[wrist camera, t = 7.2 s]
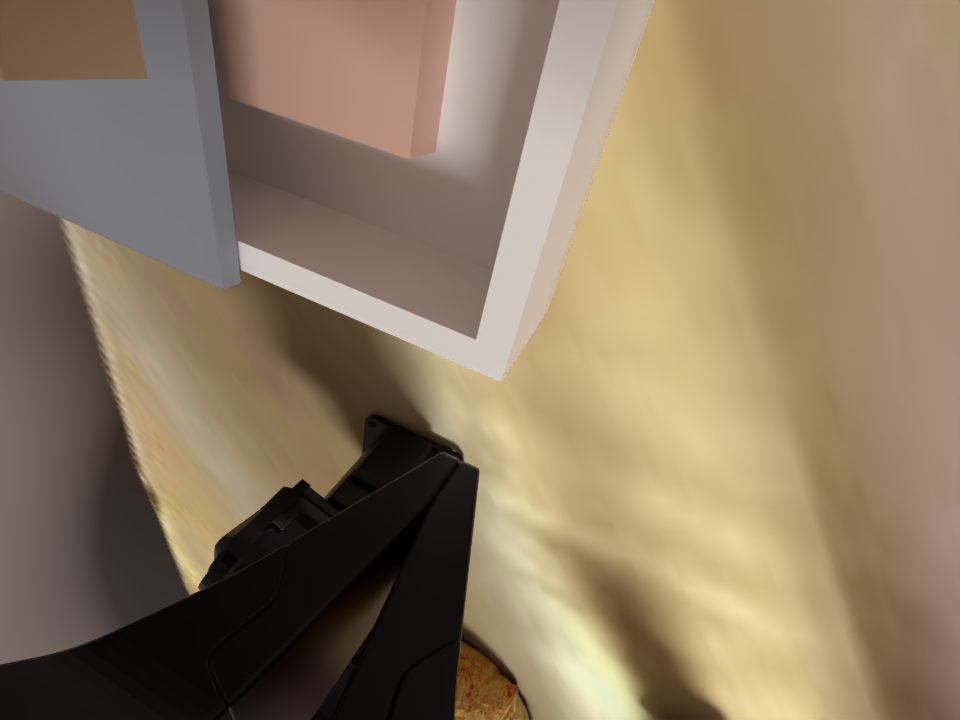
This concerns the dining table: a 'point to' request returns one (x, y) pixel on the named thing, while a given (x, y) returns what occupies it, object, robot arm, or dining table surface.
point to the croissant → (485, 690)
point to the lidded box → (419, 154)
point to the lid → (120, 126)
